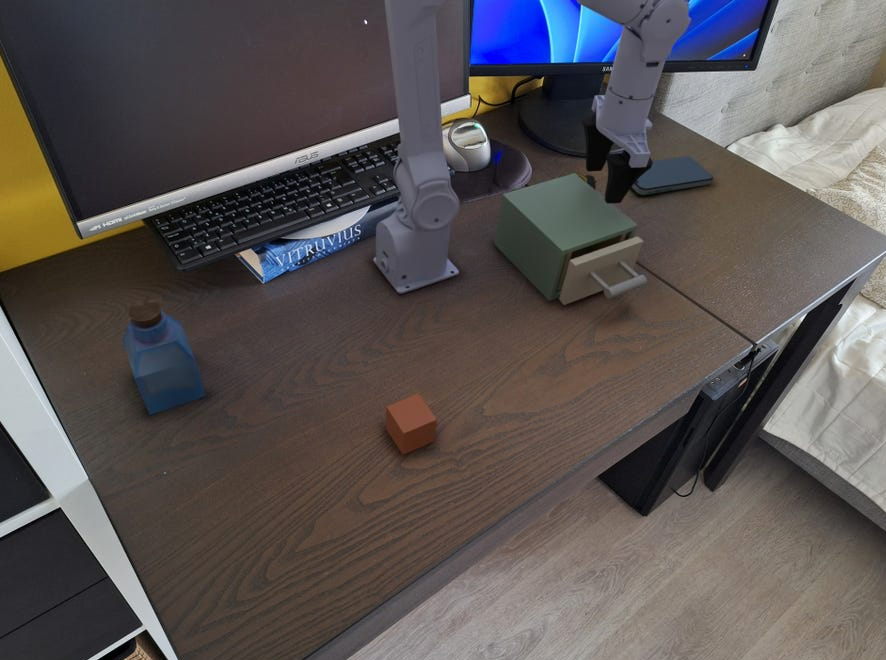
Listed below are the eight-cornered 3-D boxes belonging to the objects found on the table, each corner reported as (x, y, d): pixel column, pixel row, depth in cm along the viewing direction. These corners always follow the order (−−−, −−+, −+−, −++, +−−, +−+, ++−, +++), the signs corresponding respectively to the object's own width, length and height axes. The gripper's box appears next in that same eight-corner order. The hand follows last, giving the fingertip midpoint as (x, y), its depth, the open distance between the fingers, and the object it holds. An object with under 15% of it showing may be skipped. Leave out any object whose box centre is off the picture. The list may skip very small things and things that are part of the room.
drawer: (652, 301, 90) (668, 261, 85) (586, 327, 86) (599, 288, 81) (573, 230, 100) (584, 191, 95) (511, 251, 95) (518, 211, 90)
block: (402, 455, 72) (403, 433, 69) (385, 428, 74) (386, 406, 71) (434, 441, 74) (437, 419, 71) (417, 415, 76) (418, 393, 73)
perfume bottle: (191, 359, 79) (168, 283, 70) (206, 396, 76) (183, 320, 67) (137, 376, 77) (106, 299, 68) (149, 414, 74) (118, 339, 65)
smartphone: (716, 178, 111) (642, 189, 106) (712, 186, 112) (639, 198, 108) (689, 154, 116) (617, 164, 111) (686, 163, 117) (614, 173, 112)
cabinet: (620, 274, 95) (638, 225, 88) (549, 301, 90) (562, 250, 84) (562, 222, 102) (574, 172, 96) (493, 244, 98) (502, 193, 91)
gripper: (686, 117, 77) (651, 215, 87) (639, 61, 87) (611, 155, 97) (630, 119, 76) (600, 218, 86) (587, 62, 85) (565, 157, 96)
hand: (603, 185), depth 91 cm, fingers open, 7 cm apart
